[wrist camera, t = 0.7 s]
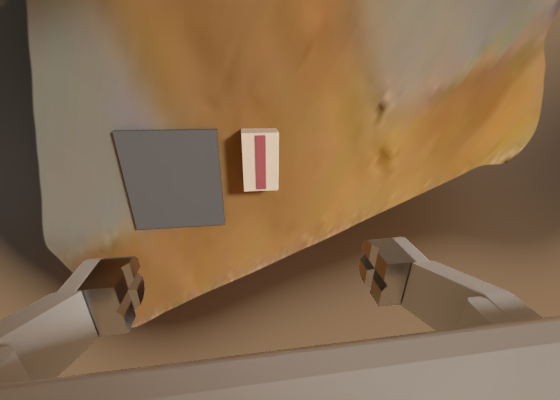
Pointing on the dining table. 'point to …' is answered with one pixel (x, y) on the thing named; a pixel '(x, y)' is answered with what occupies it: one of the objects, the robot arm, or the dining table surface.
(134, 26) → the dining table surface
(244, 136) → the card deck
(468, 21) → the dining table surface
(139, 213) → the mat
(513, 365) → the robot arm
